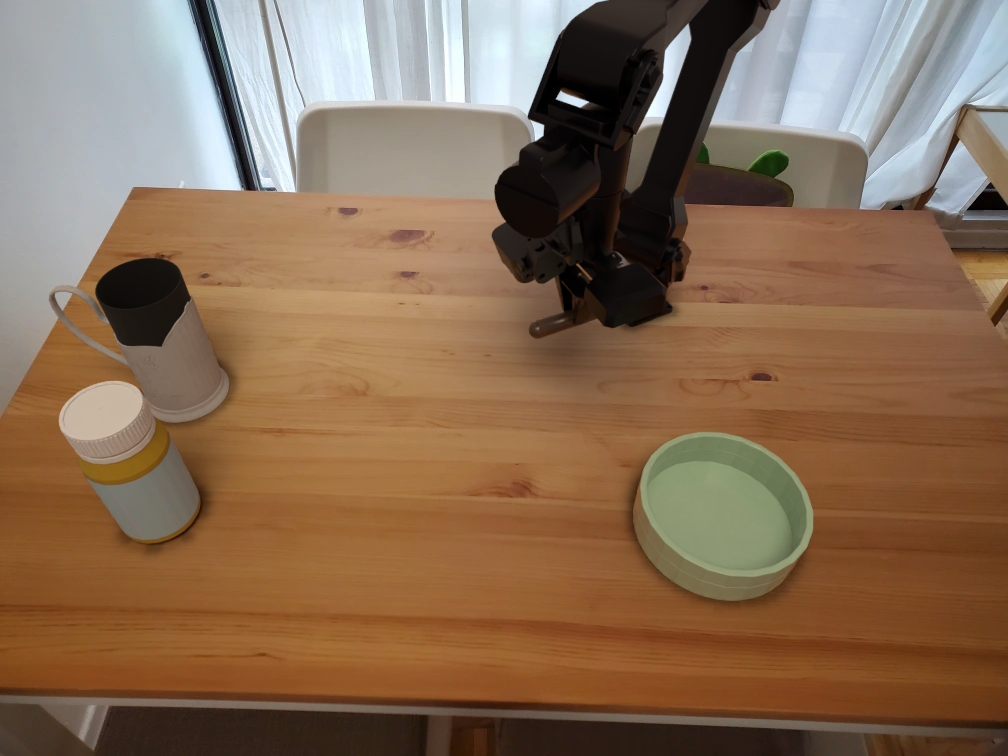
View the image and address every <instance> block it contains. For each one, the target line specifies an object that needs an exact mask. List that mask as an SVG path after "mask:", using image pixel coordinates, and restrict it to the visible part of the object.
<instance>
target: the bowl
mask: <svg viewBox="0 0 1008 756" xmlns="http://www.w3.org/2000/svg"><path fill="white" fill-rule="evenodd" d="M632 522H633V528H634V533H635V536H636V539H637V542H638V543H639V545H640V547H641V550H642V551H643V553H644V554H645V555H646V557H647V559H648V560H649V561H650V563H652V565H653V566H654V567H655V568H656V569H657V570H658V571H659V572H660V573H661V574H662V575H663V576H664V577H665V578H667V579H669V580H670V581H671V582H672V583H674V584H676V585H678V586H679V587H681V588H682V589H684V590H686V591H688V592H690V593H692V594H695V595H698V596H701V597H703V598H707V599H713V600H717V601H726V602H733V601H735V602H736V601H738V602H739V601H746V600H751V599H755V598H759V597H762V596H763V595H766V594H768V593H770V592H772V591H773V590H774V589H776V588H777V587H779V586H780V585H781V584H782V582H784V581H785V580H786V579H787V577H788V575H789V574H790V573H792V571H793V569H794V568H795V567H796V565H797V563H798V562H799V561H800V560H801V557H802V556H803V554H804V553H805V551H806V550H807V549H808V546H809V543H810V541H811V537H812V535H813V532H814V510H813V506H812V502H811V499H810V497H809V493H808V491H807V489H806V487H805V486H804V485H803V483H802V481H801V479H800V478H799V476H798V475H797V473H796V472H795V471H794V470H793V469H792V468H790V466H788V464H787V463H786V462H785V461H784V460H783V459H782V458H781V457H779V456H778V455H776V454H775V453H773V452H772V451H771V450H769V449H768V448H766V447H765V446H763V445H761V444H760V443H759V444H758V443H757V442H754V441H752V440H749V439H747V438H745V437H742V436H739V435H735V434H731V433H726V432H721V431H720V432H718V431H697V432H692V433H686V434H682V435H680V436H677V437H674V438H673V439H670V440H668V441H665V442H664V443H663V444H662V445H660V446H659V447H658V448H657V449H656V450H655V451H654V452H652V453H651V455H650V456H649V458H648V460H647V461H646V463H645V465H644V467H643V469H642V472H641V475H640V478H639V482H638V485H637V489H636V493H635V497H634V502H633V507H632Z"/></svg>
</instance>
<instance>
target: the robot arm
mask: <svg viewBox="0 0 1008 756" xmlns="http://www.w3.org/2000/svg"><path fill="white" fill-rule="evenodd" d="M780 3H781V0H601V1H597V2H594V3H593V4H592V5H590V6H589V7H588V8H586V9H584V10H583V11H581V12H579V13H578V14H576V15H575V16H574V17H573V18H571V20H569V22H567V24H566V26H565V27H564V28H563V29H561V32H560V33H559V34H558V36H557V37H556V40H555V42H554V45H553V47H552V50H551V52H550V55H549V58H548V60H547V63H546V65H545V68H544V71H543V74H542V75H541V79H540V80H539V84H538V87H537V90H536V92H535V94H534V97H533V100H532V102H531V105H530V108H529V110H528V112H527V119H528V121H530V122H534V123H536V124H540V125H543V132H542V134H543V135H542V136H541V137H539V138H538V139H537V140H533V141H531V142H529V143H528V144H526V145H525V146H523V147H522V148H521V149H520V150H519V153H518V160H516V161H515V162H513V163H512V164H511V165H509V166H508V167H507V168H505V169H504V170H503V171H502V172H501V173H500V174H499V175H498V178H497V180H496V183H495V184H494V190H493V193H494V194H493V195H494V201H495V204H496V207H497V210H498V212H499V214H500V216H501V217H502V219H503V220H504V221H505V222H503V223H501V224H500V225H498V226H497V227H495V228H494V229H493V230H492V231H491V235H490V236H491V239H492V242H493V243H494V246H495V249H496V251H497V254H498V255H499V258H500V260H501V263H502V264H503V265H504V266H505V267H506V268H507V269H508V271H509V272H510V273H511V274H512V276H513V278H514V279H515V280H516V281H517V282H518V283H519V284H529V283H531V282H533V281H535V282H536V283H537V284H538V285H544V284H547V283H548V282H550V281H551V280H553V279H554V281H555V285H556V289H557V293H558V298H559V301H560V302H559V303H560V305H561V310H562V312H564V311H567V310H570V309H572V315H573V323H574V324H575V325H579V326H581V325H580V324H582V323H584V322H585V321H586V320H587V319H588V318H589V317H590V315H591V314H592V313H593V315H594V316H595V317H596V318H597V319H596V320H597V321H598V322H599V323H600V324H601V325H602V327H605V328H609V329H615V328H619V327H621V326H624V325H627V326H629V327H635V326H639V325H641V324H644V323H646V322H648V321H651V320H653V319H656V318H659V317H662V316H665V315H667V314H669V313H672V312H673V309H674V306H673V305H672V304H671V303H670V302H669V301H668V300H667V299H666V298H667V294H668V290H669V288H670V287H671V285H672V284H673V283H680V282H682V281H684V280H685V275H686V273H687V267H688V265H689V263H690V258H691V255H692V250H691V249H690V247H689V246H688V244H687V243H686V241H684V237H685V234H686V231H687V229H688V226H689V219H688V214H687V209H686V203H685V198H684V194H685V193H686V189H687V187H688V184H689V181H690V179H691V175H692V173H693V171H694V167H695V165H696V162H697V159H698V157H699V154H700V151H701V150H702V149H701V148H702V146H703V143H704V141H705V138H706V137H707V136H706V135H707V133H708V130H709V127H710V125H711V122H712V120H713V118H714V114H715V112H716V109H717V107H718V105H719V101H720V98H721V96H722V93H723V91H724V88H725V86H726V83H727V80H728V78H729V75H730V72H731V70H732V66H733V64H734V61H735V59H736V56H737V54H738V53H739V52H740V51H741V50H742V49H743V48H744V47H746V46H747V45H748V44H749V43H750V42H751V41H753V39H754V38H756V37H757V36H758V35H759V34H760V33H762V32H763V30H764V28H765V27H766V24H767V23H768V19H769V17H770V15H771V13H772V12H773V11H775V10H776V9H777V8H778V6H779V5H780ZM687 26H688V29H689V36H690V42H689V45H688V49H687V51H686V54H685V57H684V60H683V62H682V64H681V65H682V66H681V69H680V72H679V73H678V77H677V80H676V83H675V85H674V88H673V91H672V93H671V97H670V100H669V103H668V105H667V109H666V112H665V114H664V118H663V120H662V122H661V125H660V129H659V130H658V131H659V133H658V134H657V137H656V140H655V143H654V146H653V149H652V151H651V155H650V158H649V161H648V163H647V166H646V169H645V172H644V175H643V178H642V181H641V182H640V185H639V186H638V187H637V188H636V189H634V190H633V191H632V192H630V191H629V190H627V189H626V183H627V179H628V178H627V176H628V171H629V165H630V160H631V154H632V148H633V144H634V143H633V141H634V137H635V136H636V135H638V132H639V130H640V128H641V126H642V124H643V122H644V120H645V118H646V116H647V114H648V112H649V110H650V108H651V105H652V104H653V102H654V100H655V98H656V96H657V94H658V92H659V91H660V88H661V86H662V83H663V81H664V76H665V75H664V67H665V56H666V50H667V49H668V47H669V46H670V45H671V43H673V41H674V40H675V39H676V38H677V37H678V36H679V35H680V33H682V31H683V30H684V29H685V28H686V27H687ZM560 93H563V94H565V95H568V96H569V97H573V98H576V99H578V100H582V101H584V102H586V103H585V104H583V105H582V106H577V105H574V104H571V103H569V102H565V101H562V100H560V99H557V98H558V96H559V95H560ZM582 325H583V324H582Z"/></svg>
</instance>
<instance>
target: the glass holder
mask: <svg viewBox="0 0 1008 756" xmlns="http://www.w3.org/2000/svg"><path fill="white" fill-rule="evenodd" d="M186 284H187V283H186V281H185V279H184V276H183V273H182V271H181V269H180V268H179V266H178V265H177V264H175V263H174V262H173V261H170V260H168V259H165V258H159V257H142V258H141V257H140V258H137V259H131V260H129V261H125V262H123V263H120V264H118V265H116V266H114V267H113V268H111V269H109V270H108V271H107V272H105V273H104V274H103V275H102V276H101V277H100V279H98V282H97V283H96V286H95V289H94V295H95V297H96V300H97V301H96V300H95V298H94V297H92V296H91V295H90V294H89V293H87V292H86V291H85V290H83V289H81V288H79V287H77V286H73V285H69V284H61V285H57V286H55V287H54V288H53V289H51V291H50V292H49V294H48V302H49V304H50V307H51V310H53V312H54V314H55V316H56V317H57V318H58V319H59V320H60V322H61V323H62V324H63V325H64V326H65V327H66V328H67V330H69V331H70V332H71V333H72V334H73V335H74V336H75V337H76V338H77V339H79V340H80V341H81V342H83V344H85V345H86V346H89V347H90V348H92V349H94V350H96V351H97V352H99V353H101V354H102V355H104V356H106V357H108V358H110V359H112V360H114V361H116V362H118V363H120V364H122V365H124V366H125V367H128V368H130V370H131V372H132V374H133V376H134V378H135V380H136V382H137V384H138V386H139V388H140V389H141V390H140V391H142V392H141V393H142V394H143V396H144V398H145V400H146V402H147V404H148V406H149V408H150V410H151V412H152V414H153V416H154V417H156V418H157V419H159V420H160V421H161V422H165V423H173V424H174V423H177V424H178V423H186V422H191V421H195V420H197V419H200V418H203V417H204V416H207V415H209V414H210V413H212V412H213V411H215V410H216V409H217V408H218V407H219V406H220V405H221V404H222V403H223V402H224V401H225V400H226V397H227V396H228V393H229V391H230V386H231V385H230V378H229V376H228V374H227V372H226V371H225V370H224V369H223V368H222V367H221V366H220V365H219V362H218V359H217V356H216V354H215V351H214V349H213V346H212V343H211V340H210V339H209V336H208V334H207V331H206V328H205V325H204V322H203V320H202V319H201V315H200V313H199V310H198V308H197V307H198V306H197V305H196V302H195V299H194V297H193V295H190V293H189V290H188V286H187V285H186ZM61 292H66V293H70V294H73V295H75V296H76V297H79V298H80V299H82V300H83V301H84V302H85V303H86V304H87V305H88V306H89V307H90V309H91V310H92V311H93V313H94V315H95V316H96V318H97V320H99V321H100V322H101V323H102V324H105V325H107V326H110V327H111V330H112V331H113V336H114V339H115V341H116V343H117V345H118V347H119V349H120V351H121V353H122V355H121V354H119V353H117V352H115V351H113V350H112V349H110V348H107V347H106V346H104V345H102V344H101V343H99V342H98V341H96V340H94V339H92V338H91V337H90V336H88V335H87V334H86V333H84V331H82V330H81V329H80V328H79V327H77V325H76V324H75V323H73V322H72V320H71V319H70V318H69V317H68V316H67V315H66V314H65V312H64V311H63V309H62V307H61V306H60V305H59V303H58V301H57V298H56V293H61ZM97 302H98V303H97ZM99 305H100V306H99Z"/></svg>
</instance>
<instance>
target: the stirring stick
mask: <svg viewBox="0 0 1008 756" xmlns="http://www.w3.org/2000/svg"><path fill="white" fill-rule="evenodd" d="M595 320H598V319H597V318H596V317H595V316H594V315H593V313H592V314H591V315H590V317H589V318H588V319H587V320H586V321H585V322H584V323H582V324H580V325H575V324H574V323H573V315H572V309H570V310H567V311H562V312H561V311H560V312H558V313H555V314H552V315H549V316H545V317H543V318H539V319H537V320H534V321H532V322H530V324H529V326H528V329H527V331H528V334H529V336H530V337H531V338H533V339H535V340H539V339H544V338H546V337H549V336H552V335H555V334H558V333H561V332H563V331H567V330H569V329H573V328H575V327H578V326H582V325H585V324H588V323H591V322H594V321H595Z"/></svg>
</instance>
